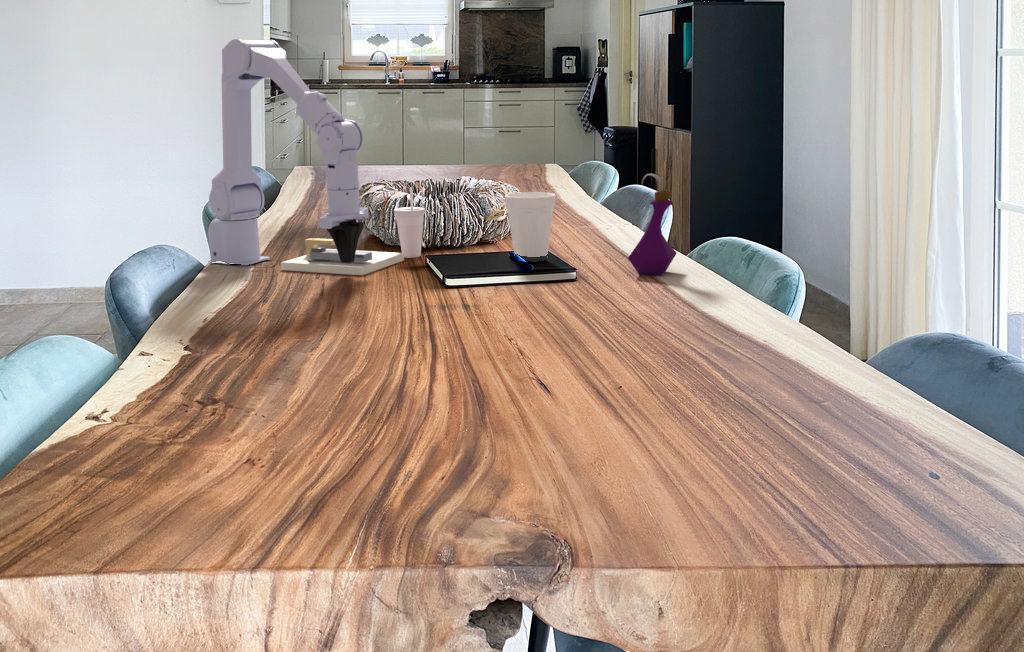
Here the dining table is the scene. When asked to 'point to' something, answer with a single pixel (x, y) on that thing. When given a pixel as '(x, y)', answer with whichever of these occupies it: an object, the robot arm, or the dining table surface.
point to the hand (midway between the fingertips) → (347, 261)
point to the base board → (343, 264)
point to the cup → (530, 221)
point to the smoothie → (410, 228)
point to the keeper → (316, 243)
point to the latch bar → (337, 255)
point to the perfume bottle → (654, 239)
